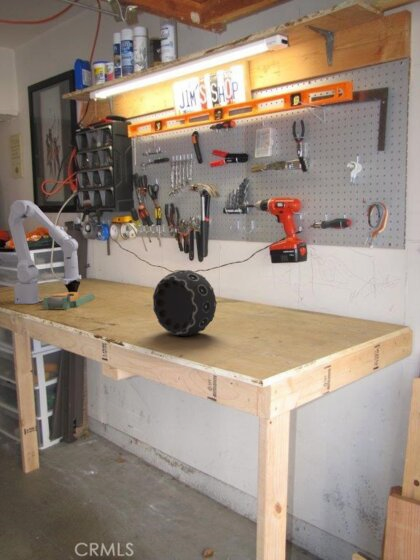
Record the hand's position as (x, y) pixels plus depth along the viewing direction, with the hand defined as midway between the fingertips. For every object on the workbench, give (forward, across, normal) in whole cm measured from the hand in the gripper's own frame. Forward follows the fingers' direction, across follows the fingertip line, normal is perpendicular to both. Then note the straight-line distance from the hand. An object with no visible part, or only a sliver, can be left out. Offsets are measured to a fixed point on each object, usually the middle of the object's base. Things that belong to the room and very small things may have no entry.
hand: (73, 298), depth 221 cm
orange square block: (+2, -7, 0) cm, 7 cm away
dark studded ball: (+2, -52, -62) cm, 81 cm away
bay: (+1, -5, 0) cm, 5 cm away
